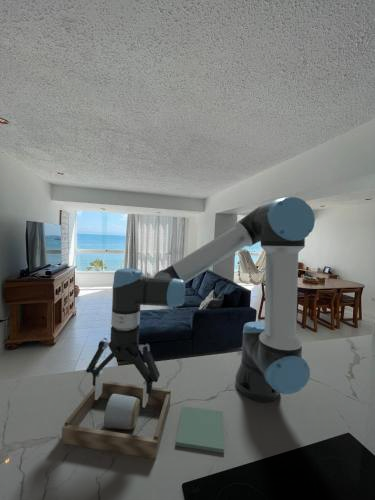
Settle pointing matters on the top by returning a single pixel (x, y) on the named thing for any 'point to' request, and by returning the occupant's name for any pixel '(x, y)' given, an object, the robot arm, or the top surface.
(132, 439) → the open wooden box frame
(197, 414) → the rubber mat
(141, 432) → the top surface
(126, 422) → the ceramic mug
